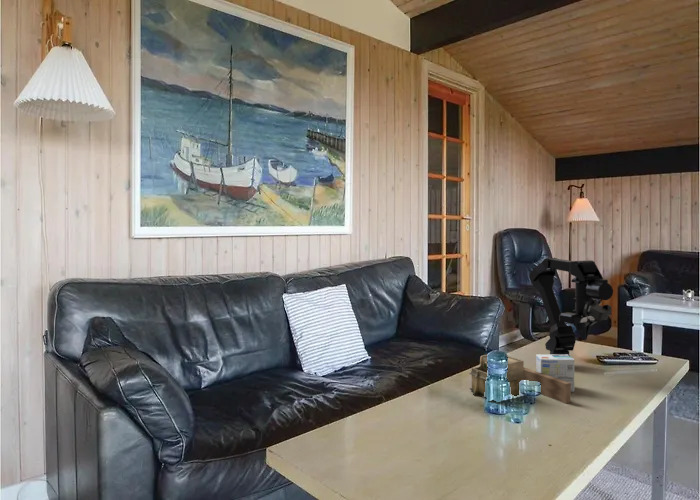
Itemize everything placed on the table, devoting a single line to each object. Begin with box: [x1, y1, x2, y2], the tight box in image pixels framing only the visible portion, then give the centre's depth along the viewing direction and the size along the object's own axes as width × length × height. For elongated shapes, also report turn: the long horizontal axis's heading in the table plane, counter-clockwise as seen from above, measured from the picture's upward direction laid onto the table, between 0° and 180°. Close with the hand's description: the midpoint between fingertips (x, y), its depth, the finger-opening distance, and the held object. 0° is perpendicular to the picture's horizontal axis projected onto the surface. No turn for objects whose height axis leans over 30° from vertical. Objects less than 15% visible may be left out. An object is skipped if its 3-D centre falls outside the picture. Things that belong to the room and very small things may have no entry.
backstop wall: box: [524, 367, 572, 404], centre depth 156 cm, size 22×2×6 cm, turn 26°
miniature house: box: [469, 354, 526, 397], centre depth 156 cm, size 15×14×11 cm
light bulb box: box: [535, 353, 575, 393], centre depth 159 cm, size 11×7×11 cm, turn 83°
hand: (584, 340), depth 171 cm, fingers closed
